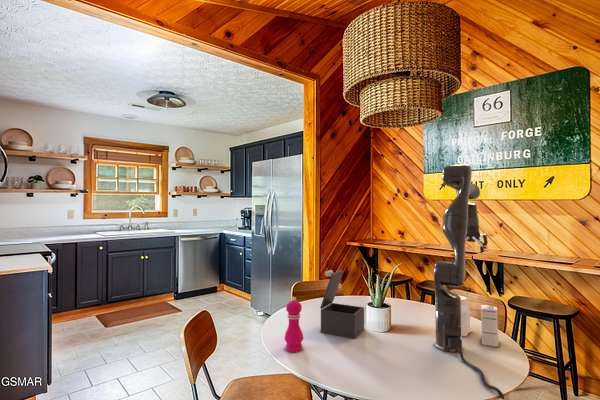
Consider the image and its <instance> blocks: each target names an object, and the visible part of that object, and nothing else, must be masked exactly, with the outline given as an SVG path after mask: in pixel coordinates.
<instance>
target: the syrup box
mask: <svg viewBox="0 0 600 400" xmlns="http://www.w3.org/2000/svg"><path fill="white" fill-rule="evenodd" d="M480 319H481V320H480V321H481V344H482V345H484V346H489V347H495V348H499V316H498V306H495V305H489V304H488V305H487V304H481V307H480Z"/></svg>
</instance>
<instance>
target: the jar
mask: <svg viewBox="0 0 600 400" xmlns="http://www.w3.org/2000/svg"><path fill="white" fill-rule="evenodd" d="M457 295H458V296H460V298H461V337H468V334H470V333H471V330H472V328H471V307H470V305H469V304H468V298H467V297H466V296H464V295H459V294H457Z"/></svg>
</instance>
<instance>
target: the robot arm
mask: <svg viewBox="0 0 600 400" xmlns="http://www.w3.org/2000/svg"><path fill="white" fill-rule="evenodd" d="M441 173H442V174H441V178H442V182H443V184H444V185H445V186H446V187H449V188H451V189H454V190H455V194H456V196H455V198H454V199H453V200H452V201H451V203H450V204H449V205H448V206H447V208H446V209H445V210H444V212H443V214H442V227H441V229H442V232H443V234H444V236H445V238H446V240H447V241H448V243H449V245H450V246H451V249H452V251H453V253H454V261H447V260H445V261H444V260H437V261H436V262H435V263H434V265H433V283H434V300H435V301H434V302H435V303H434V305H435V311H434V313H435V316H434V317H435V347H436V348H437V349H439V350H440V351H443V352H445V353H459V355H460V356H459V357H460V359H461V361H462V362H463V363H464V364H465V365H466V366H467V367H470V368H471V369H473V370H475V371H476V372H478V374H479V375H480V379H481V382H482V384H483V385H484V387H486V388H488V389H490V390H493V391H495V392H496V393H497V394H498V395H499V397H500V399H502V400H505V399H506V397H505V395H504V394H503V392H502V391H501V390H500V388H498V387H496V386H494V385H491V384H490V383H488V382H487V381H486V378H485V375H484V373H483V371H482V370H481V369H480V368H479V367H477V366H475V365H473V364H471V363H470V362H468V361H467V360H466V358H465V357H464V354H463V351H462V349H463V339H462V336H461V298H460V296H461V295H460V296H458V295H459V294H456V293H454V292H453V291H451V290H449V289H448V288H447V287H456V288H461V287H463V285H464V284H465V279H466V244H467V242H468V243H471V242H472V243H477V244H478V245H479V246H480V247H479V248H480V254H483V253H484V251H485V247H487V246H488V244H489V242H488V235H487V233H486V232H484V233H480V223H479V222H480V221H479V216H478V205H477V204H476V203H475V202H471V201H470V200H477V199H478V198H479V197H480V195H481V189H480V187H479V185H477V184H476V183H473V182H472V176H473V175H472V173H473V170H472V167H471V165H470V164H466V163H465V164H449V165H446V166H444V167H443V169H442V172H441ZM481 238H482V239H483V240H482V239H481Z"/></svg>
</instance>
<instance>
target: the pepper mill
mask: <svg viewBox="0 0 600 400" xmlns="http://www.w3.org/2000/svg"><path fill="white" fill-rule="evenodd" d="M302 308H303V307H302V304H301V302H299V301H298V300H297V298H296V297H295V296H292V297H291V300H290V301H288V302H287V303H286V306H285V311H286V312H287V319H288V326H287V329H286V331H285V333H284V341H285V342H286V344H285V350H286V352H289V353H298V352H301V351H302V350H303V343H302V342H303V341H304V334H303V330H302V329H301V327H300V318H301V312H302Z"/></svg>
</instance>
